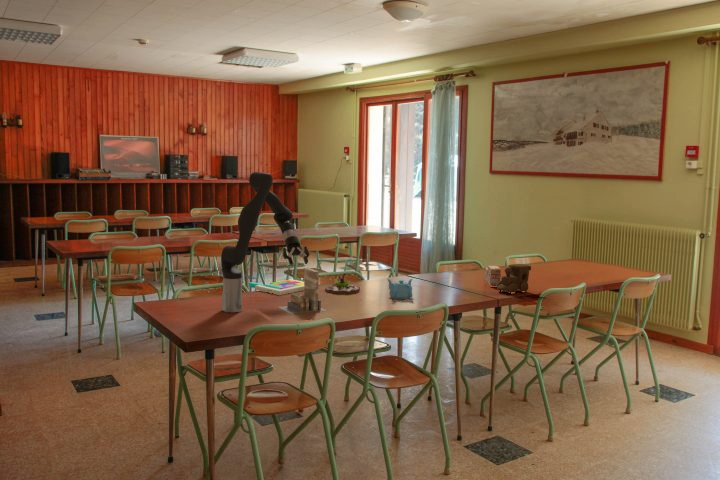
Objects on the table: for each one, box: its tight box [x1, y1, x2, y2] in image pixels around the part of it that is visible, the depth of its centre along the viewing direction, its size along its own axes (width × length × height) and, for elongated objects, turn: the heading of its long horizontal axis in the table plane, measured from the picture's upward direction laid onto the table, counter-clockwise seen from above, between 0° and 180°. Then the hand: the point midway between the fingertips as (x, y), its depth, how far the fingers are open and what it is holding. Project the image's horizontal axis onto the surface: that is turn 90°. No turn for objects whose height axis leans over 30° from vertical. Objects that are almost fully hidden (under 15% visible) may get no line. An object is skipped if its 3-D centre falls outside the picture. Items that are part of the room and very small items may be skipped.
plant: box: [324, 272, 361, 296], centre depth 390 cm, size 20×20×11 cm
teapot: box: [386, 278, 414, 300], centre depth 376 cm, size 15×15×10 cm
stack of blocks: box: [484, 265, 502, 286], centre depth 424 cm, size 21×6×12 cm, turn 179°
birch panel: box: [303, 267, 320, 310], centre depth 337 cm, size 2×12×20 cm, turn 29°
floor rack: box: [278, 298, 326, 315], centre depth 336 cm, size 20×16×6 cm
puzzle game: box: [248, 278, 304, 296], centre depth 394 cm, size 30×3×30 cm
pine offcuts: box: [290, 292, 309, 312], centre depth 335 cm, size 5×12×7 cm, turn 29°
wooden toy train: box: [496, 263, 532, 293], centre depth 400 cm, size 20×11×17 cm, turn 125°
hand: (299, 263), depth 349 cm, fingers open, 8 cm apart
